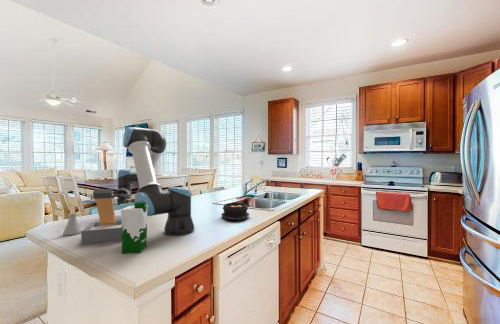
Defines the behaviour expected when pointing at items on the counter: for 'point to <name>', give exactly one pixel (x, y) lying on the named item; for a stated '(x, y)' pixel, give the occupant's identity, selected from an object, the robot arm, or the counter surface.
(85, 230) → the switch box
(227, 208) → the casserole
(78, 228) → the flask
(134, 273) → the counter surface
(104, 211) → the lever
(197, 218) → the counter surface
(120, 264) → the counter surface
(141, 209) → the milk carton
